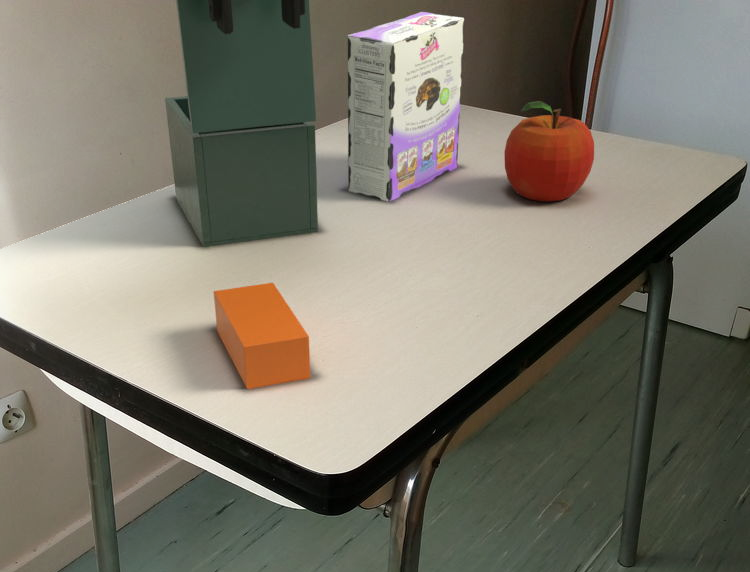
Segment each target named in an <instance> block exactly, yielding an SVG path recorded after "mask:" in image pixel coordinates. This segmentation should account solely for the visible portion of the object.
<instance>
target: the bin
mask: <svg viewBox="0 0 750 572" xmlns="http://www.w3.org/2000/svg"><path fill="white" fill-rule="evenodd" d="M164 102H165V111H166V118H167V119H166V121H167V129H168V134H169V135H168V136H169V145H170V146H169V148H170V155H171V163H172V173H173V182H174V191H175V199H176V201H177V203H178V205H179V207H180V208H181V210H182V211H183V213H184V215H185V217H186V219H187V220H188V222H189V224H190V226H191V227H192V229H193V231H194V233H195V235H196V236H197V238H198V239H199V241H200V244H201V245H202V247H203V248H206V247H214V246H215V247H216V246H221V245H231V244H239V243H244V242H251V241H260V240H261V241H262V240H268V239H274V238H283V237H290V236H299V235H305V234H312V233H319V217H318V216H319V215H318V212H319V211H318V183H317V182H318V181H317V179H318V178H317V177H318V176H317V144H316V143H317V141H316V125H315V124H314V122H313V121H312V122H302V123H292V124H282V125H272V126H262V127H252V128H242V129H232V130H222V131H212V132H202V133H193V132H192V130H191V122H190V114H189V106H188V97H187V95H185V96H184V95H181V96H174V97H165V98H164Z"/></svg>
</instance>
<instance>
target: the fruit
mask: <svg viewBox="0 0 750 572" xmlns="http://www.w3.org/2000/svg"><path fill="white" fill-rule="evenodd" d="M531 109H544V110H545V111H546V110H547V111H549V112H550V113H551V114H546V115H545V114H544V115H537V116H531V117H527V118H524V119H521V121H520V122H518V124H517V125H516V126H515V127H514V128H513V129H512V130H510V133H509V135H508V137H507V139H506V142H505V148H504V152H503V153H504V170H505V174H506V177H507V180H508V182H509V183H510V186H511V187H512V189H513V190H514V191H515V193H517V194H518V195H520V196H521V197H523V198H525V199H527V200H531V201H536V202H542V203H552V202H553V203H554V202H559V201H563V200H566V199H568V198H570V197H572V196H574V194H575V193H576V192H578V191H579V189H581V188H582V186H583V185H584V183H586V180H587V178H588V177H589V175H590V173H591V170H592V167H593V165H594V161H595V141H594V137H593V135H592V131H591V130H590V129H589V127H588V125H586V123H585V122H583V120H580V119H578V118H577V119H576V118H573V117H570V116H566V115H565V116H564V115H561V111H562V108H556V109H553V110H552V107H551V105H549V104H547V103H546V102H543V101H541V100H536V101H530V102H527V103H526V104H524V105H523V106H522V108H521V110H520V111H519V112H520V113H522V112H526V111H528V110H531Z"/></svg>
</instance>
